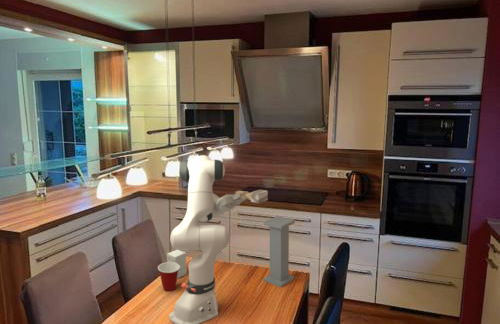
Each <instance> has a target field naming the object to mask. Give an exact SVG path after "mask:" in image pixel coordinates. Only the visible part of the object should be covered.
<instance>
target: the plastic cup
mask: <svg viewBox="0 0 500 324" xmlns="http://www.w3.org/2000/svg"><path fill="white" fill-rule="evenodd" d="M179 268H180V265H179V264H177V263H174V262H163V263H160V264H159V265H158V266H157V270H158V272H159V275H160V280H161V284H162V288H163V290H165V292H173V291H174V290H176V287H177V282H178V281H177V280H178V279H177V274H178V270H179Z"/></svg>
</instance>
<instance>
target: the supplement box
mask: <svg viewBox="0 0 500 324" xmlns="http://www.w3.org/2000/svg"><path fill="white" fill-rule="evenodd" d="M166 257H167V259H166V261H167V262H174V263H177V264H179V265H180V268H179V270H178V274H177V280H178V279H180V278H182V277H184V276H186V275H187V274H188V273H187V272H188V270H187V252H186V251H182V250H176V249H174V250H172V251H170V252H168V253H166Z"/></svg>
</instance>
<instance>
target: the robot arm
mask: <svg viewBox="0 0 500 324" xmlns="http://www.w3.org/2000/svg"><path fill="white" fill-rule="evenodd" d="M177 170H178V172H177V173H178V176H179V179H180V180H181V181H182V182H185V183H186V184H188V185H187V206H186V213H185V215H184V217H183V219H182V221H181V222H179V224H177V226H175V227H174V228H173V230H172V231H171V232H170V236H169V237H170V238H169V239H170V245H171V246H172V248H173V249H174V250H180V251H183V252H192V251H193V252H195V251H201V253H200V254H198V255H196V256H195V257H193V258H192V259H191V260H190V261H189V262H188V279H187V283H185V282H183V283H182V284H181V288H183V289H184V292H183V293H182V294H181V295H180V296H179V298H178V299H177V300H176V301H175V303H174V308H173V309H174V310H173V311H172V312H170V313H169V314H168V318H170V319H169V320H170V321H171V323H173V322H174V323H173V324H202V323H205V322H207V321H208V320H211V319H213V318H217V317H218V316H219V312H218V310H219V304H218V301H217V296H216V290H215V288H216V278H215V263H216V259H217V257H218V255H219V254H220V253H221V252H222V251H223V250H224V249H226V248H227V247H228V245H229V244H230V239H231V234H230V232H229V230H228V228H227V227H226V226H225V225H219V224H199V222H200V223H208V222H210V221H211V220H212V219H213V218H215V217H219V216H221V215H224V214H225V213H227V212H229V211H230V210H233V209H234V208H236V207H237V206H239V205H241V204H242V202H244V201H246V200H247V199H244V198H239V197H241V196H242V195H241V193H240V194H237V195H236V193H234V194H228V193H227V194H225V195H223V196H221V197H220V196H218V194H217V193H216V192H214V191H213V186H214V182H215V183H216V182H220V181H222V180H223V179H224V176H225V173H226V168H225V165H224V162H223V161H222V160H219V159H211V158H210V157H209V156H208V155H204V154H201V155H199V156H197V157H196V158H194V159H185V160H182V161H180V162H179V166H178V169H177ZM245 192H248V190H247V191H245Z"/></svg>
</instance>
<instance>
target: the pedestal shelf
mask: <svg viewBox="0 0 500 324" xmlns="http://www.w3.org/2000/svg"><path fill="white" fill-rule="evenodd" d="M293 224H296V220H295V219H291V218H287V217H282V216H274V217H272V218H270V219H267V220H264V221H263V225H264V226H266V227H269V274H268V275H267V276H265V277H263V281H264V282H265V283H267V284H271V285H274V286H275V287H276V286H277V287H278V288H283V287H284V286H285V285H287V284H289V283H291V281H293V280H294V279H295V276H294V275H292V274H289V267H290V266H289V263H290V261H289V258H290V255H289V253H290V252H289V251H290V250H289V249H290V248H289V247H290V245H289V244H290V236H289V235H290V234H289V232H290V226H292V225H293Z"/></svg>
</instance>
